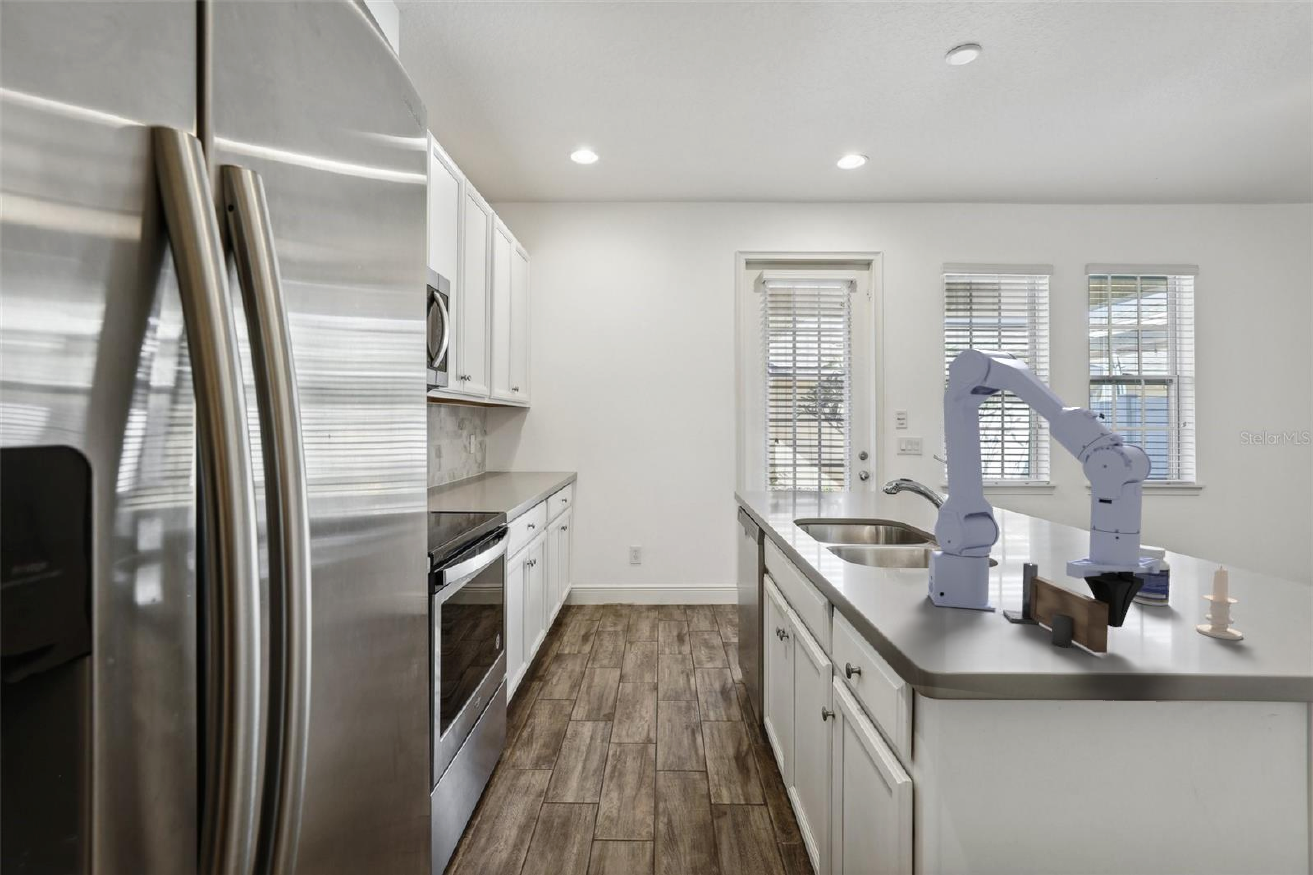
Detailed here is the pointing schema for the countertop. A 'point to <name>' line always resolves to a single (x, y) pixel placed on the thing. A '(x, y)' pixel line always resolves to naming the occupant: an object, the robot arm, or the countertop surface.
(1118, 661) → the countertop surface
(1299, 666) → the countertop surface
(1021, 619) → the gate post
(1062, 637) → the block
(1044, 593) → the gate
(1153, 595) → the pill bottle
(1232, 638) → the candle
